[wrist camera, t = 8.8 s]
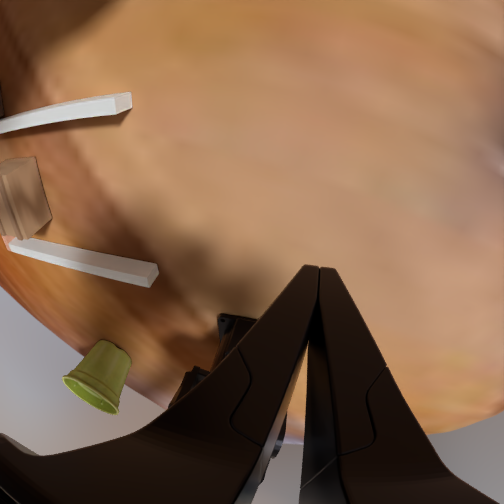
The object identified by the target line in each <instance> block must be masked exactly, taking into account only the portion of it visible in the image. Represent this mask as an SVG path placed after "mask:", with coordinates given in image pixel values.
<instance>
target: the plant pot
mask: <svg viewBox="0 0 504 504" xmlns="http://www.w3.org/2000/svg"><path fill="white" fill-rule="evenodd" d="M130 366H131V359H130V357H129V356H128V355H127V353H126V352H125V351H123V350H121V349H118V348H117V347H116V346H115V345H114V344H113V343H111V342H108V341H105V340H100V341H98V342H97V343H96V345H95V346H94V347H93V348H92V349H91V350H90V352H89V353H88V354H87V355H86V356H85V357H84V359H83V360H82V361H81V362H80V363H79V364H78V366H77V367H76V368H75V369H74V370H72V371H71V372H70V373H69V374H68V375H65V376H63V377H62V380H63V382H64V384H65V385H66V386H67V387H68V388H69V389H70V390H71V391H72V392H73V393H74V394H75V395H77V396H78V397H80V398H81V399H82V400H83V401H85V402H87V403H88V404H90V405H92V406H93V407H95V408H97V409H99V410H101V411H103V412H106V413H109V414H112V415H117V414H118V413H119V410H118V406H119V402H120V401H119V398H120V395H121V391H122V388H123V386H124V383H125V380H126V377H127V375H128V372H129V369H130Z"/></svg>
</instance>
